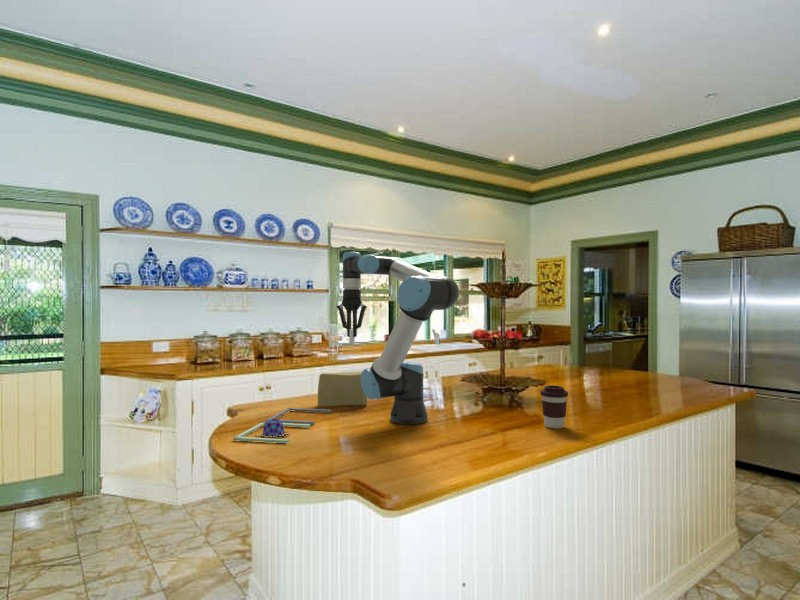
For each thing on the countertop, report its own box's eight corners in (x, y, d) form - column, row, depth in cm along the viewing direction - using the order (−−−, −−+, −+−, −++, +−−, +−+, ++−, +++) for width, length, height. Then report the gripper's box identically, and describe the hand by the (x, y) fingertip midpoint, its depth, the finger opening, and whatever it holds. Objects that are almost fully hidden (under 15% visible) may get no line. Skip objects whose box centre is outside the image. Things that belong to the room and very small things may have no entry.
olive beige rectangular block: (318, 408, 207) (318, 375, 207) (317, 404, 216) (316, 372, 216) (367, 405, 212) (367, 373, 212) (363, 401, 222) (363, 370, 222)
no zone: (331, 412, 199) (331, 409, 199) (313, 425, 179) (313, 422, 179) (288, 410, 203) (288, 407, 203) (266, 423, 182) (266, 420, 182)
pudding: (255, 441, 159) (255, 426, 159) (257, 432, 171) (257, 417, 171) (291, 438, 162) (291, 423, 162) (290, 429, 174) (290, 415, 174)
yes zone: (310, 427, 176) (310, 424, 176) (286, 444, 155) (286, 440, 155) (262, 425, 179) (262, 421, 179) (233, 441, 159) (233, 437, 159)
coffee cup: (569, 424, 179) (569, 385, 179) (566, 431, 170) (566, 390, 170) (542, 421, 183) (542, 383, 183) (538, 428, 174) (538, 388, 174)
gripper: (368, 289, 199) (369, 344, 198) (339, 289, 201) (339, 343, 201) (364, 288, 191) (364, 345, 191) (334, 288, 193) (334, 345, 193)
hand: (352, 344), depth 196 cm, fingers closed
